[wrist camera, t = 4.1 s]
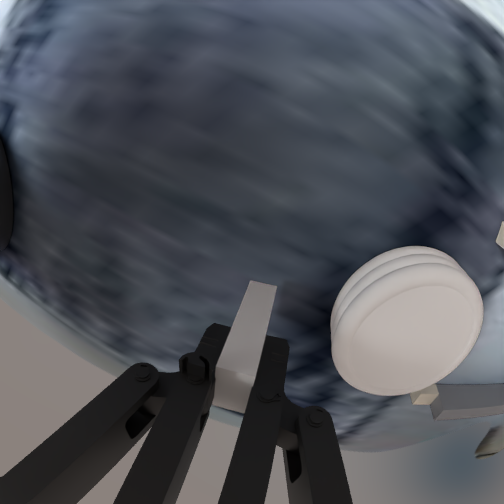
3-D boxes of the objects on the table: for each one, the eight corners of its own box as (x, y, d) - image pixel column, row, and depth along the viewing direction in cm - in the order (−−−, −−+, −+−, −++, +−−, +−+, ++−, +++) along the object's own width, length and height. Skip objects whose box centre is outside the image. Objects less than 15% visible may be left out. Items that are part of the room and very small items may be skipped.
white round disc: (305, 343, 19) (303, 380, 16) (374, 216, 15) (391, 239, 12) (413, 374, 19) (422, 407, 16) (487, 274, 14) (511, 302, 11)
